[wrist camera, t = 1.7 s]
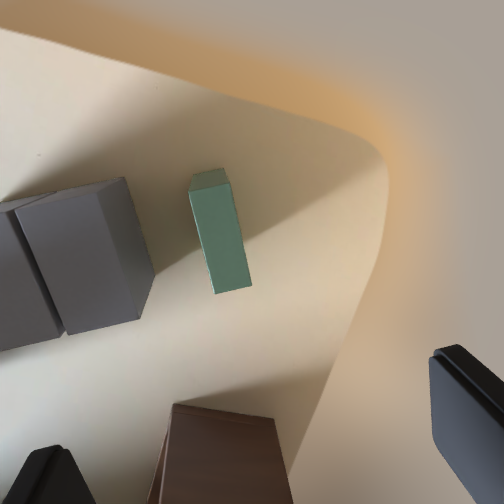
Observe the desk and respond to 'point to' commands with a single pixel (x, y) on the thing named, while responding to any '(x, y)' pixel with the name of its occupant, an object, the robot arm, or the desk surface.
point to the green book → (219, 231)
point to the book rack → (219, 460)
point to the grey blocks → (71, 263)
